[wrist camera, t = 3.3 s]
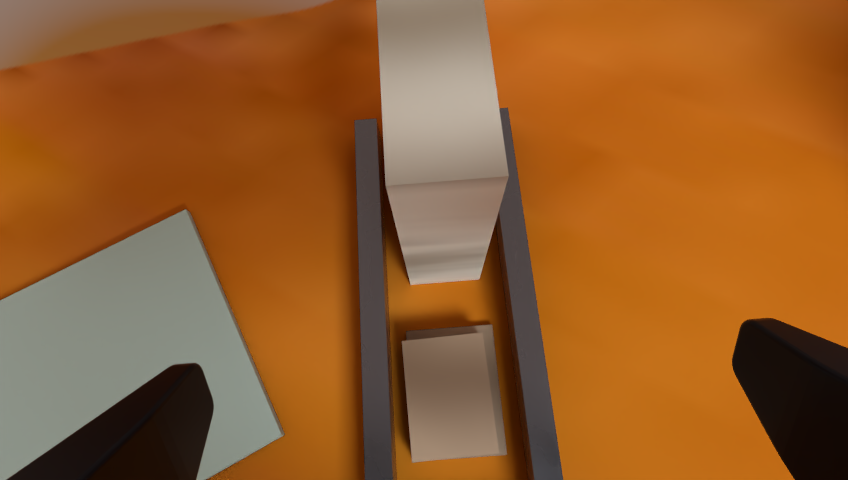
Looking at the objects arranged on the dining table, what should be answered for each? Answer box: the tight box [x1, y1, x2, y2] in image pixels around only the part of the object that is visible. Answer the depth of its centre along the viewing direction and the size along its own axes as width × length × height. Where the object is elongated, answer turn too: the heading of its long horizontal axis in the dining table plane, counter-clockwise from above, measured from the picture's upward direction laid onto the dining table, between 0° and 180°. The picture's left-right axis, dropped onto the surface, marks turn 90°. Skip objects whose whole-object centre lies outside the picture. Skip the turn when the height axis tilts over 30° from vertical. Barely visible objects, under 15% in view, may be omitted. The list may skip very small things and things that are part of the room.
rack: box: [355, 108, 563, 480], centre depth 20 cm, size 18×7×2 cm, turn 4°
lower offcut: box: [406, 325, 507, 460], centre depth 20 cm, size 5×4×1 cm
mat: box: [0, 209, 285, 480], centre depth 20 cm, size 11×11×1 cm
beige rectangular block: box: [376, 0, 509, 285], centre depth 18 cm, size 7×3×10 cm, turn 4°
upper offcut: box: [402, 332, 499, 463], centre depth 19 cm, size 4×3×1 cm
